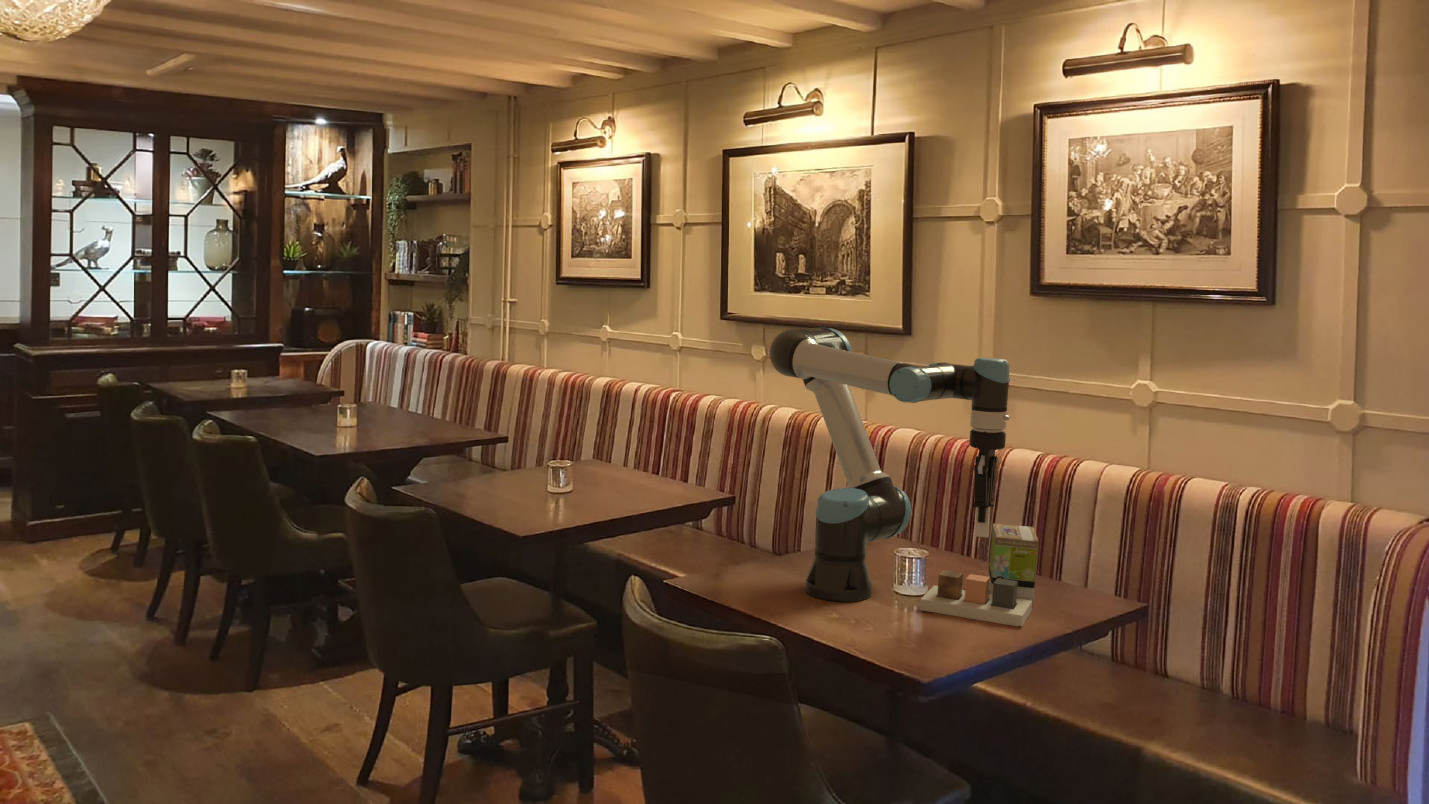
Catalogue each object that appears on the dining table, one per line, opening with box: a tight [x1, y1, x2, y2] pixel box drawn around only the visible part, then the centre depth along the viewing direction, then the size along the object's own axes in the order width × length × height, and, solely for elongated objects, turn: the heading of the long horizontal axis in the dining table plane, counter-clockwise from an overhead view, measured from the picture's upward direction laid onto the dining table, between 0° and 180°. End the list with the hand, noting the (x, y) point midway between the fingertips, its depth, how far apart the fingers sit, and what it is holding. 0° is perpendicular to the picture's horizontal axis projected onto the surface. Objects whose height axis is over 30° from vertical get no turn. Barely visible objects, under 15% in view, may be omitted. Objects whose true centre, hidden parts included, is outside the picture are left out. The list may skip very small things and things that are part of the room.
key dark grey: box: [992, 578, 1018, 609], centre depth 242 cm, size 4×4×5 cm
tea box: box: [987, 523, 1040, 603], centre depth 259 cm, size 15×10×15 cm
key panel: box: [919, 584, 1033, 628], centre depth 245 cm, size 22×12×2 cm, turn 65°
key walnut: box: [937, 569, 964, 600], centre depth 247 cm, size 4×4×5 cm
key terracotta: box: [964, 574, 990, 604], centre depth 244 cm, size 4×4×5 cm
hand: (981, 536), depth 243 cm, fingers closed
